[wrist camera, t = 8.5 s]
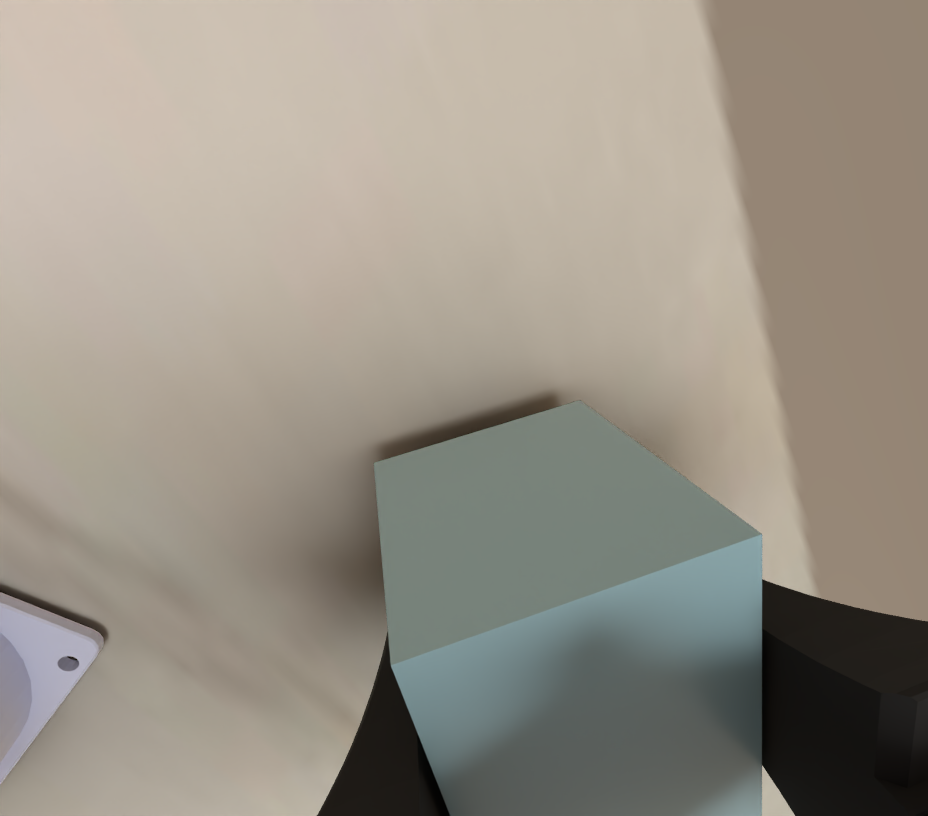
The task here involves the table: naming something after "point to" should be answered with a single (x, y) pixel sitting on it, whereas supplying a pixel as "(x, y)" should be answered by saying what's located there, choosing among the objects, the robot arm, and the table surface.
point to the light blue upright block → (573, 624)
